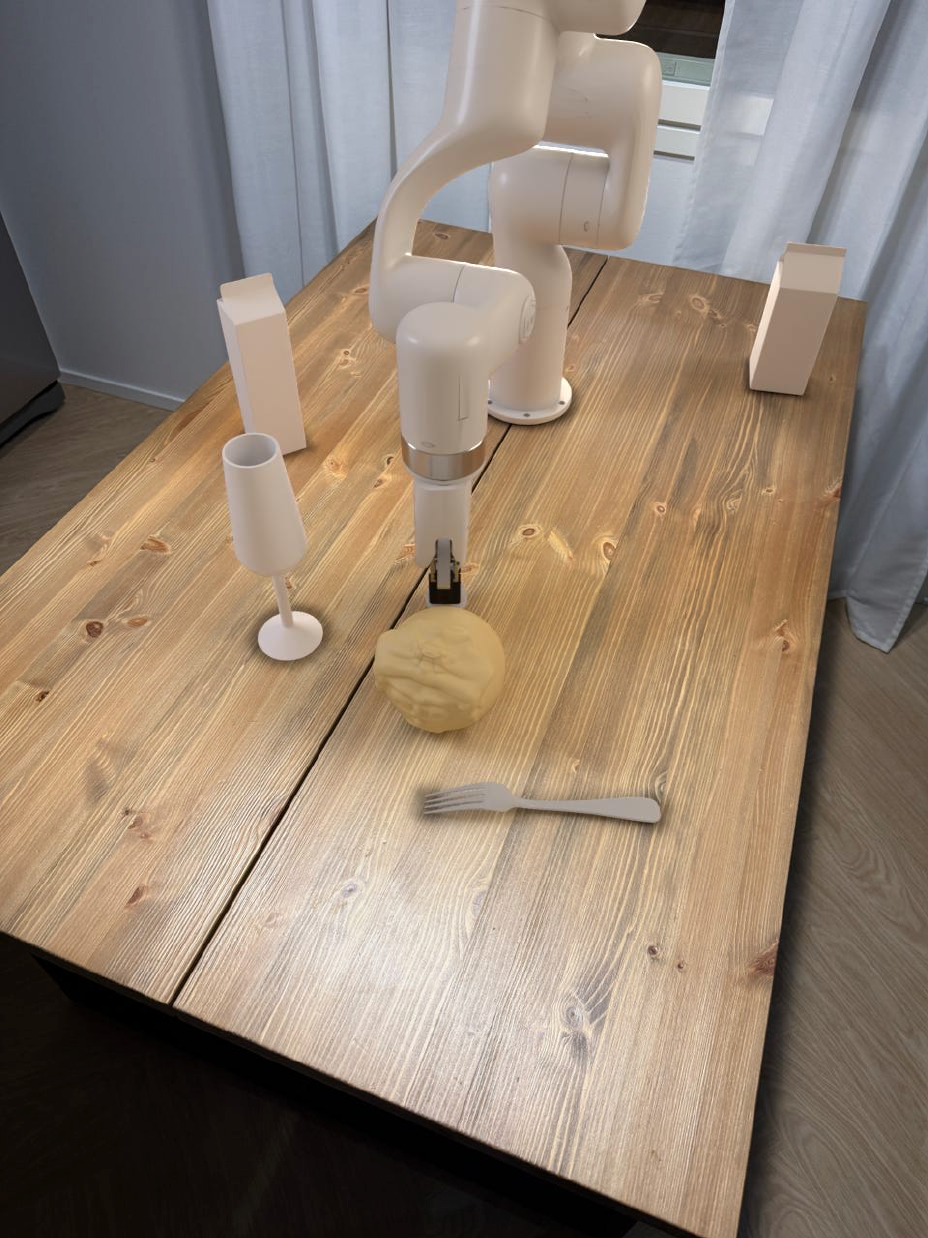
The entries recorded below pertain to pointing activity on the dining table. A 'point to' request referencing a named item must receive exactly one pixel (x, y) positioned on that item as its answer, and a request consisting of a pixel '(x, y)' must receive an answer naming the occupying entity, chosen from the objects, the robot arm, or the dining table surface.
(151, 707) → the dining table surface
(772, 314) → the milk carton
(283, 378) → the milk
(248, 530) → the champagne flute
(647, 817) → the fork
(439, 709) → the yellow dough ball
